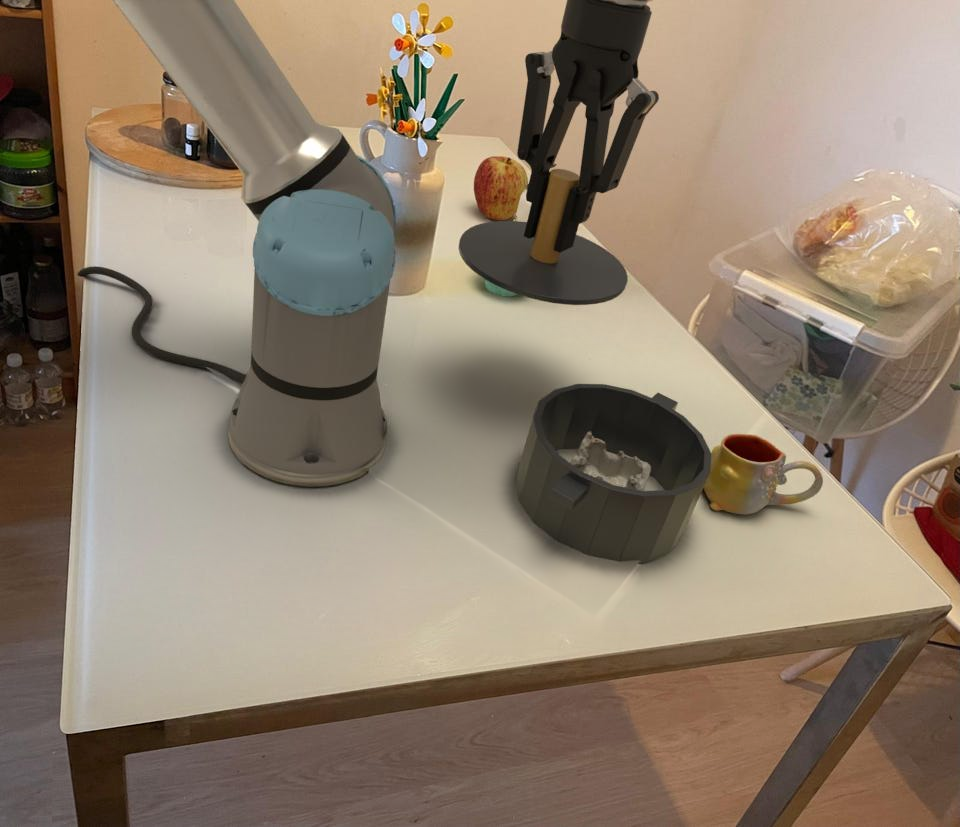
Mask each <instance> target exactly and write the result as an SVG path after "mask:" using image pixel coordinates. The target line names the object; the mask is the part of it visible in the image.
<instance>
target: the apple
mask: <svg viewBox="0 0 960 827" xmlns="http://www.w3.org/2000/svg"><path fill="white" fill-rule="evenodd" d="M527 184H529V178H528V174H527V172H526V169H525V168H524V166H523V165H522V164H521V163H519V162H518V161H517V160H515V159H513V158H511V157H508V156H504V155H502V156H499V155H498V156H496V155H495V156H489V157H487V158H485V159H483V160H482V162H480V164H479V165H478V167H477V170H476V172H475V174H474V179H473V194H474V198H475V202H476V205H477V208H478V210H479V212H480V213H481V214H482V215H483V216H484V217H485V218H488V219H491V220H493V221H507V220H509V219H510V218H512V217H514V216H516V213H517V209H518V205H519V201H520V197H521V194H522V193H523V192H524V191H525V189H526V185H527Z"/></svg>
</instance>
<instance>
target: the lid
mask: <svg viewBox="0 0 960 827" xmlns="http://www.w3.org/2000/svg"><path fill="white" fill-rule="evenodd" d="M550 171H551V172H550ZM550 171H549V172H550V177H549V181H548V185H547V189H546V193H545V197H544V201H543V205H542V209H541V213H540V217H539V221H538V225H537V229H536V233H535V237H533V238H530V239H529V238H527V237H524V232H525V228H526V224H527V222H520V221H513V220H500V221H497V220H493V221H487V222H482V223H478V224H475V225H474V226H471V227H468V229H466V230H465V231H464V232H463V233H462V234H461V237H460V238H459V242H458V252H459V256H460V257H461V259H462V261H463V262H464V263H465V265H466V266H467V267H468V268H469V269H470V270H471V271H473V273H475V274H476V275H478V276H479V277H481V278H482V279H483V280H484V281H485V280H487V281H489V282H491V283H493V284H494V285H496V286H499V287H501V288H503V289H505V290H508V291H510V292H513V293H516V294H518V295H519V296H522V297H525V298H528V299H531V300H537V301H540V302H545V303H551V304H557V305H565V306H566V305H568V306H589V305H598V304H603V303H606V302H609V301H612V300H614V299H616V298H618V297H619V296H620V295H622V293H624V292H625V289H626V286H627V284H628V277H629V276H628V273H627V270H626V268H625V266H624V264H622V262H621V261H620V260H619V259H618V258H617V257H616V256H615V255H614V254H612V253H611V252H610V251H609V250H607V249H605V248H604V247H603V246H600V245H599V244H597V243H595V242H594V241H592V240H590V239H588V238H585V237H583V236H581V235H579V234H576V237H575V240H574V244H573V247H571V248H569V249H567V250H565V251H563V252H561V253H559V252H557V251H555V250H554V247H555V243H556V239H557V236H558V232H559V228H560V224H561V221H562V217H563V213H564V209H565V206H566V202H567V198H568V194H569V190H570V189H571V188H574V187H576V186H578V185H579V177H580V174H579V175H578V174H577V173H576V172H574V171H571V170H568V169H564V168H552V169H551V170H550ZM518 295H517V296H518Z"/></svg>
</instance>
